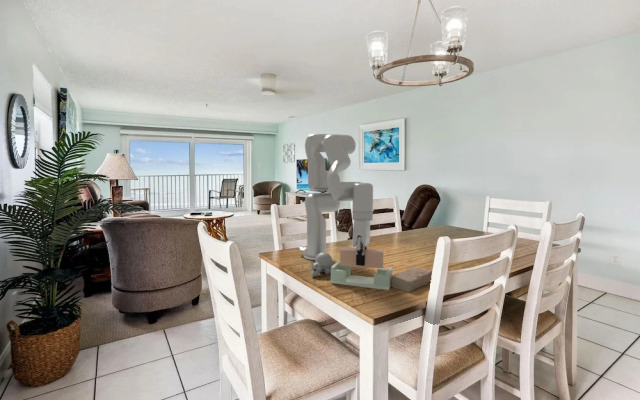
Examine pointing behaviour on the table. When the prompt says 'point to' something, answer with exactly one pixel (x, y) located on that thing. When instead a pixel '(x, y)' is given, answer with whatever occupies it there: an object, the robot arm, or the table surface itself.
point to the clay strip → (371, 257)
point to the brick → (411, 279)
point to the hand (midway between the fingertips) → (361, 262)
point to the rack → (361, 277)
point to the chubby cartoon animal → (322, 264)
